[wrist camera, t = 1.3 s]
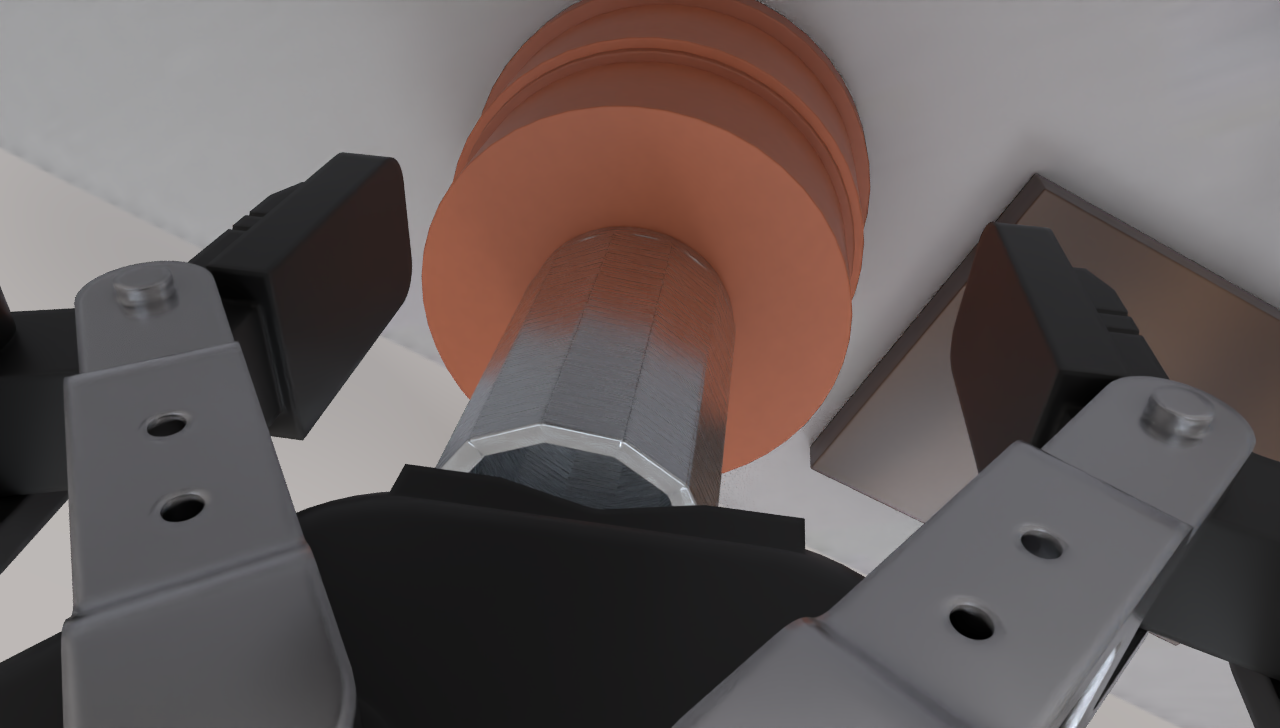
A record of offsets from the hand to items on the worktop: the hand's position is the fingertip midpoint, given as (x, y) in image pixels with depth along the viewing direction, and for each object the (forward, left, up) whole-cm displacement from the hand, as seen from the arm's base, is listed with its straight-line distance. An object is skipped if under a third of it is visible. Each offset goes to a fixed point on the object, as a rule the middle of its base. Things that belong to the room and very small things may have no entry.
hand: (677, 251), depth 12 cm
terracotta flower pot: (+6, -5, -21) cm, 22 cm away
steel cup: (+6, -5, -11) cm, 14 cm away
